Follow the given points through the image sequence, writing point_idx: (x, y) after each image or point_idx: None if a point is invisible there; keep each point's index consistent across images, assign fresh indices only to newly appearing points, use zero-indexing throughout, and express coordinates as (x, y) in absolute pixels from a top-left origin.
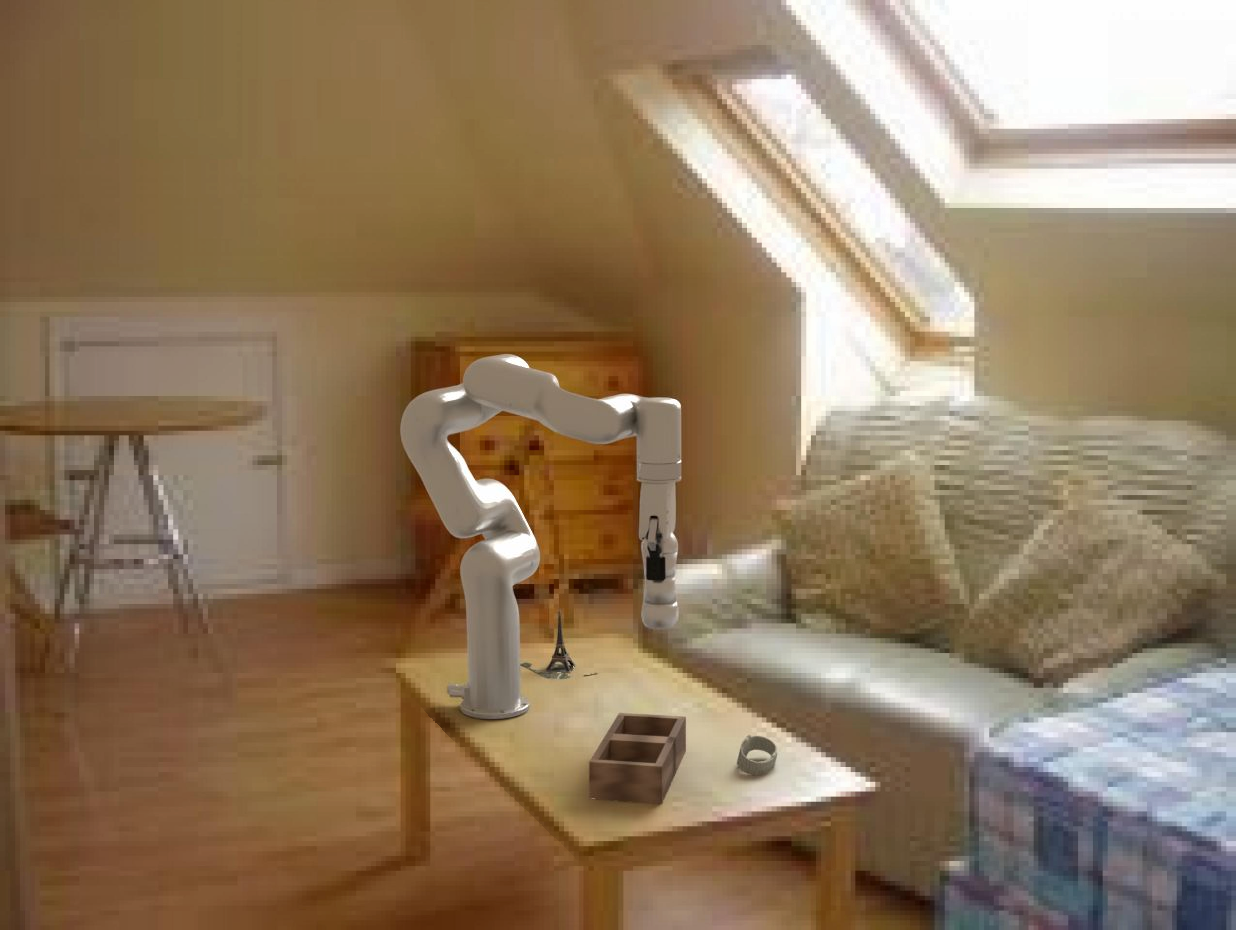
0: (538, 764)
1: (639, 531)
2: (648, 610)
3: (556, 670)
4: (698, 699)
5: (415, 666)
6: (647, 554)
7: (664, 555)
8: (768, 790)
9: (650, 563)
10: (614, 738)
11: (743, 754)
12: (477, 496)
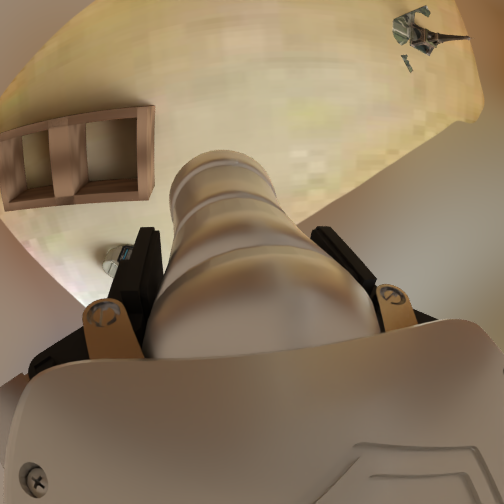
0: (90, 37)
1: (10, 432)
2: (176, 183)
3: (415, 33)
4: (334, 178)
5: None
6: (82, 319)
7: None
8: (81, 275)
9: (109, 293)
10: (52, 133)
11: (105, 262)
12: None
